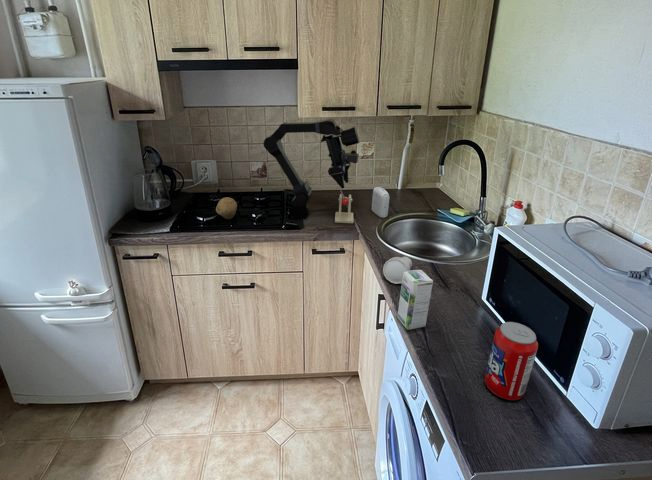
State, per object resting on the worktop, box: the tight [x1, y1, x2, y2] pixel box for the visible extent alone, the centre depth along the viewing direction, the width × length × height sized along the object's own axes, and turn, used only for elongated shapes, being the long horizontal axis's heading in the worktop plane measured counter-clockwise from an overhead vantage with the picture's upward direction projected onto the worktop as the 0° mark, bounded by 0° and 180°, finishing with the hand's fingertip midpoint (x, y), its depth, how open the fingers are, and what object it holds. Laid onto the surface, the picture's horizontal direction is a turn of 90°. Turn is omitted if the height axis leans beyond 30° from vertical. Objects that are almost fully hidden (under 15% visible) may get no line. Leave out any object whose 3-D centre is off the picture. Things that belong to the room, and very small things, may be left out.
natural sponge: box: [215, 196, 238, 220], centre depth 165 cm, size 9×9×10 cm
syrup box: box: [396, 269, 434, 331], centre depth 100 cm, size 6×6×14 cm
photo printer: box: [371, 186, 390, 219], centre depth 173 cm, size 10×4×12 cm, turn 17°
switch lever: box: [342, 196, 349, 206], centre depth 161 cm, size 12×3×3 cm, turn 175°
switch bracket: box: [334, 193, 354, 224], centre depth 167 cm, size 10×8×11 cm
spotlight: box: [382, 256, 413, 285], centre depth 123 cm, size 8×11×8 cm
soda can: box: [484, 321, 539, 401], centre depth 80 cm, size 8×8×15 cm
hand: (345, 185), depth 160 cm, fingers open, 9 cm apart
